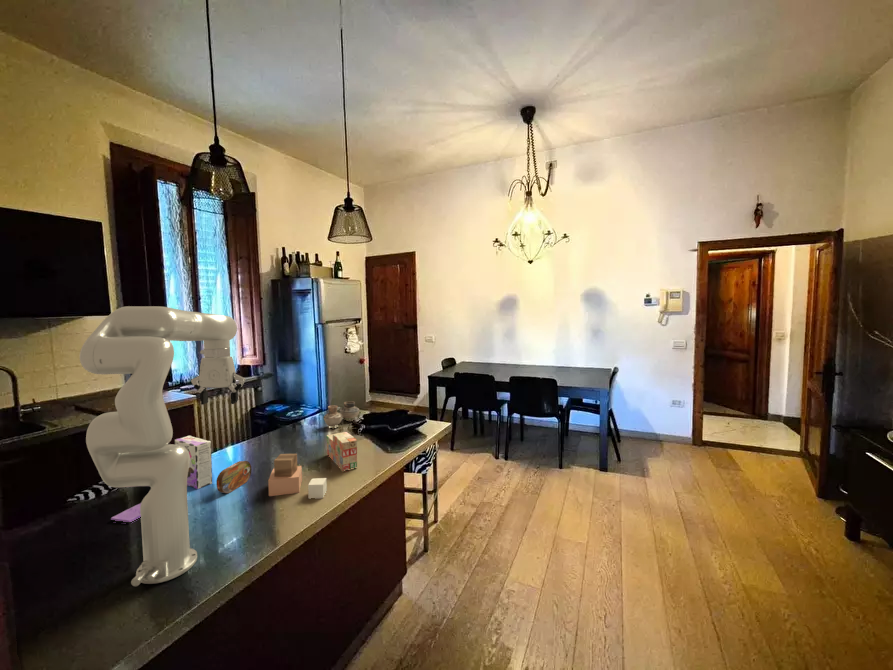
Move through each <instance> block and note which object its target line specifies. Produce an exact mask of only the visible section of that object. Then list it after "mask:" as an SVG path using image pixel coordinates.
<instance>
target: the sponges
mask: <svg viewBox="0 0 893 670" xmlns="http://www.w3.org/2000/svg"><path fill="white" fill-rule="evenodd" d="M141 503H142V501H141V502H140V503H138V504H136V505H134V506H132V507H130V508H127V509H125V510H124V511H122V512H120V513H118V514H116V515H114V516H112V517H111V518H110V520H115V521H123V522H132V521H134V520H136V519H138V518H140V517H141V514H140V506H141ZM140 519H141V518H140ZM138 520H139V519H138ZM136 521H137V520H136ZM134 522H135V521H134ZM132 523H133V522H132Z"/></svg>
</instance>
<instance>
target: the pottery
mask: <svg viewBox="0 0 893 670" xmlns="http://www.w3.org/2000/svg"><path fill="white" fill-rule="evenodd" d="M355 405H356V402H355V401H352V400H351V401H350V400H349V401H344V402H343V407H342V408H340V409H339V412H338V408H339V407H338V405H335V404H334V405H329V406H327V408H328V413H326V414H324V416H323V420H324V422H325V424H326V425H327V427H328V426H335V425H338V424H339V425H340V423H341V422H342V420H343V419H344V418H354V417H356V418H357V417H358V416H359V414H360V408H358V407H357V406H355Z"/></svg>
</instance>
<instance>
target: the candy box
mask: <svg viewBox="0 0 893 670" xmlns="http://www.w3.org/2000/svg"><path fill="white" fill-rule="evenodd" d="M174 445H180V446H183V447H185V448H186V449H187V450H188V452H189V455H190V463H189V470H188V477H187V487H191V488H193V489H196V490H199V489H202V488H204V487H207V486H210V485H212V484H213V469H212V466H213V465H212V464H213V463H212V442H211V440H206V439H204V438H200V437H195V436H192V435H187V436H182V437H180V438H176V439H174Z"/></svg>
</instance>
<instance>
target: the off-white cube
mask: <svg viewBox="0 0 893 670" xmlns="http://www.w3.org/2000/svg"><path fill="white" fill-rule="evenodd" d="M307 485H308V486H307V488H308V489H307V490H308V491H307V494H308V496H307V497H308V500H309V499H310V500H311V498H315V499H324V498H323V497H325V496H324V495H326V494H325V493H327V492H326V491H327V487H328V486H327V477H317V478H311V480H310V481H309V483H308V484H307Z"/></svg>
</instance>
